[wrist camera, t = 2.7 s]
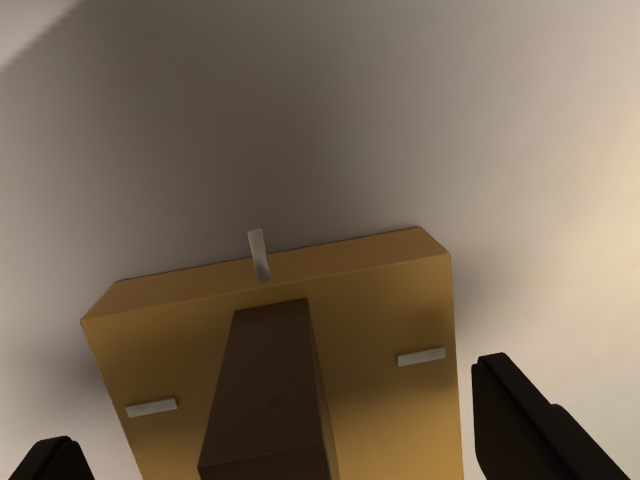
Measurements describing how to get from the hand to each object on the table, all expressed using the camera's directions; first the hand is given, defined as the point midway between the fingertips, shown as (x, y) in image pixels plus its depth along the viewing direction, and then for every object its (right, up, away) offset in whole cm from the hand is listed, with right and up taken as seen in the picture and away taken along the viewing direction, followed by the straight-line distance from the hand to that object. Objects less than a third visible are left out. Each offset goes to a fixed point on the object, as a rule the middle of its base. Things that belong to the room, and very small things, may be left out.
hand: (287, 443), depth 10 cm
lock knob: (0, +1, +2) cm, 2 cm away
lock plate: (0, -1, +5) cm, 6 cm away
